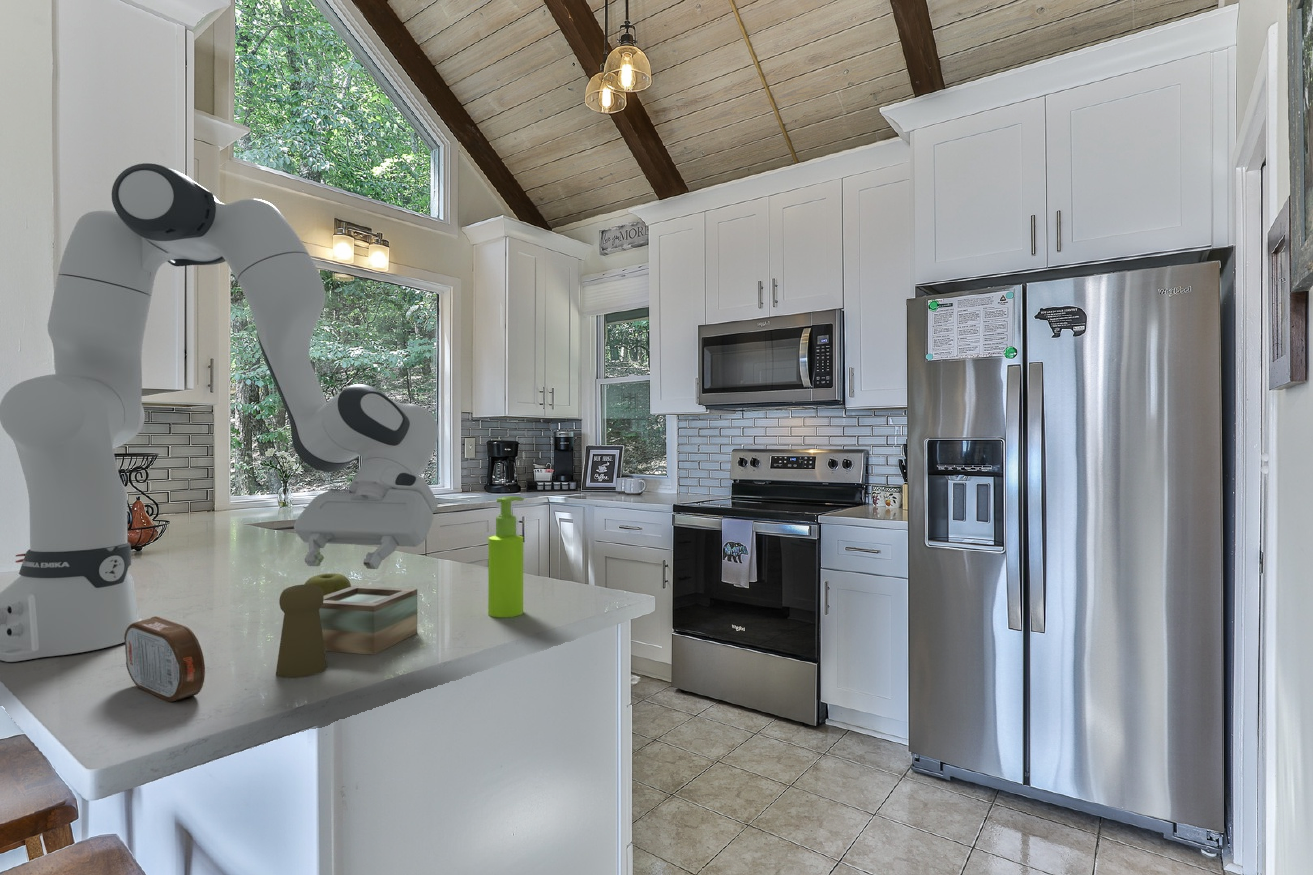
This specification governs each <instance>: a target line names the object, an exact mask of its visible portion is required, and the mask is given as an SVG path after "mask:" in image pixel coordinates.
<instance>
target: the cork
mask: <svg viewBox="0 0 1313 875" xmlns="http://www.w3.org/2000/svg"><path fill="white" fill-rule="evenodd" d="M323 601H324V594H323V590H322V589H321V588H320V587H319V586H317V585H310V584H305V583H304V584H297V585H292V586H289V587H287V588H285V589H283V590H282V592H281V594H280V596H279V607H280V610H281V611H282V612H283V613H284V615H283V621H282V628H281V634H280V641H279V648H278V649H279V650H278V656H277V664H276V670H275V675H276V676H277V677H280V678H288V679H289V678H290V679H292V678H293V679H294V678H295V679H296V678H304V677H309V676H313V675H316V674H319V673H322V672H324V671H326V669H327V668H328V663H327V656H326V651H325V647H324V640H323V633H322V626H321V620H320V613H319V609H320V608H321V606H322V604H323Z"/></svg>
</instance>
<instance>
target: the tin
mask: <svg viewBox="0 0 1313 875" xmlns="http://www.w3.org/2000/svg"><path fill="white" fill-rule="evenodd" d="M124 640H125V642H124V645H125V646H124V647H125V657H126V662H125V665H126V669H127V672H128V675H129V677H130V679H131V680H132V682H133V684H134V685H135V686H136V687H137V688H139V689H141V690H143V691H145V692H148V693H149V694H151V695H154V696H156V697H158V698H160V699H162V700H165V701H167V702H170V703H171V702H172V703H173V702H177V701H180V700H183V699H186V698H188V697H193V696H194V697H195V696H197V695H198V694H199V693H200V692H201V691H202V688H203V687H204V682H205V677H206V667H205V666H206V664H205V657H204V653H203V650H202V646H201V644H200V642H199V639H198V638H197V635H196V634H194V632H193V631H192V630H191V628H189V627H188V626H186V625H183V624H180V623H177V622H173V621H171V620H168V619H166V618H163V617H160V616H152V617H150V618H147V619H142V621H138V622H135V623H132V624H131V625H130V626H129V627H128V628H127V630H126V632H125V636H124Z"/></svg>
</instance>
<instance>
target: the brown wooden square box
mask: <svg viewBox="0 0 1313 875" xmlns="http://www.w3.org/2000/svg"><path fill="white" fill-rule="evenodd" d="M319 613H320V620H321V626H322V633H323V640H324V647H325V652H336V653H347V654H348V653H350V654H360V655H361V654H364V655H376V654H378V653H380V652H382V651H384V650H386V649H389V648H390V647H392V646H394V645H396V644H398V643H400V642H402V641H404V640H406V639H407V638H410V637H412V636H414V635H416V634H418V588H407V587H404V588H403V587H388V586H387V587H386V586H373V585H371V586H367V585H351V587H349V588H346V589H343V590H340V591H337V592H334V593H331V594H328V595H325V596H324V601H323V604H322V606H321V608H320V609H319Z"/></svg>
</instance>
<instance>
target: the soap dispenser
mask: <svg viewBox="0 0 1313 875" xmlns="http://www.w3.org/2000/svg"><path fill="white" fill-rule="evenodd" d="M524 498H525V497H520V496H510V495H509V496H503V497H498V498H496V503H500V514H499V515H498V516H496V517H495V535H492V536H489V537H488V541H487V542H488V552H487V556H488V563H487V566H488V567H487V568H488V576H487V578H488V580H487V582H488V585H487V586H488V590H487V591H488V596H487V597H488V598H487V599H488V600H487V601H488V602H487V604H488V605H487V606H488V607H487V608H488V609H487V610H488V612H487V614H488V616H490V617H492V618H504V619H505V618H513V617H518V616H521V615H522V614H523V613H524V536H522V535H519V534H517V516H515V515H513V514H512V502H514V501H516V502H517V501H520V502H522V501H524V500H525V499H524Z"/></svg>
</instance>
